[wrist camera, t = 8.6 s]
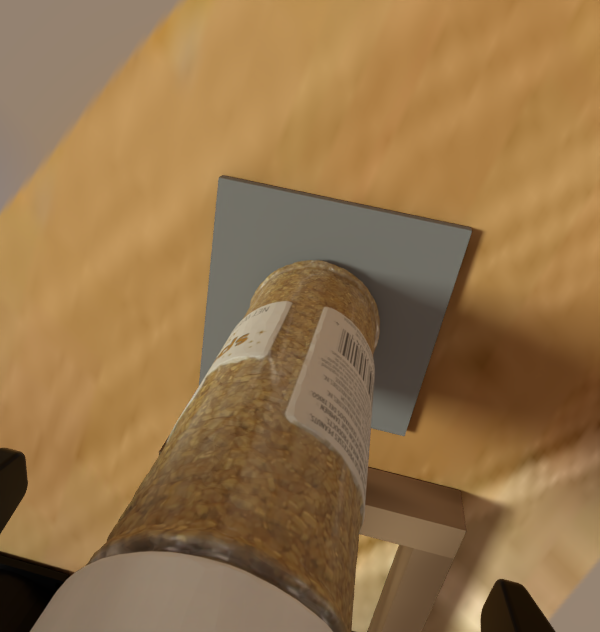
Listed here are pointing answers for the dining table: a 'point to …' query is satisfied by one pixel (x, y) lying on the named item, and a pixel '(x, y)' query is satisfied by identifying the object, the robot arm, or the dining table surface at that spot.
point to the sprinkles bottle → (251, 480)
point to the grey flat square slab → (345, 252)
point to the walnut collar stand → (411, 544)
